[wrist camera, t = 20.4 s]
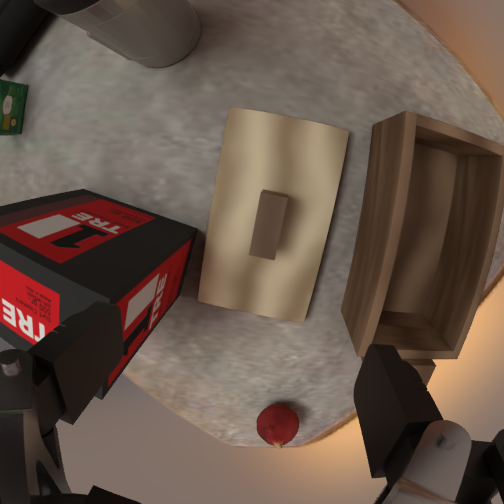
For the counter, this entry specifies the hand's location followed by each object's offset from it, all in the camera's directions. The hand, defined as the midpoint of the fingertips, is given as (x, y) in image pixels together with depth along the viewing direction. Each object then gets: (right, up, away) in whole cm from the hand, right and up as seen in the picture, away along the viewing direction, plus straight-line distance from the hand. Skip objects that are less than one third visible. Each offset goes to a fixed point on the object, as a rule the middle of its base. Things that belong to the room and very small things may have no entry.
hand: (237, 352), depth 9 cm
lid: (+2, +7, +25) cm, 26 cm away
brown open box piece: (+18, +3, +24) cm, 31 cm away
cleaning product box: (-15, +4, +28) cm, 32 cm away
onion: (+4, -20, +32) cm, 38 cm away
